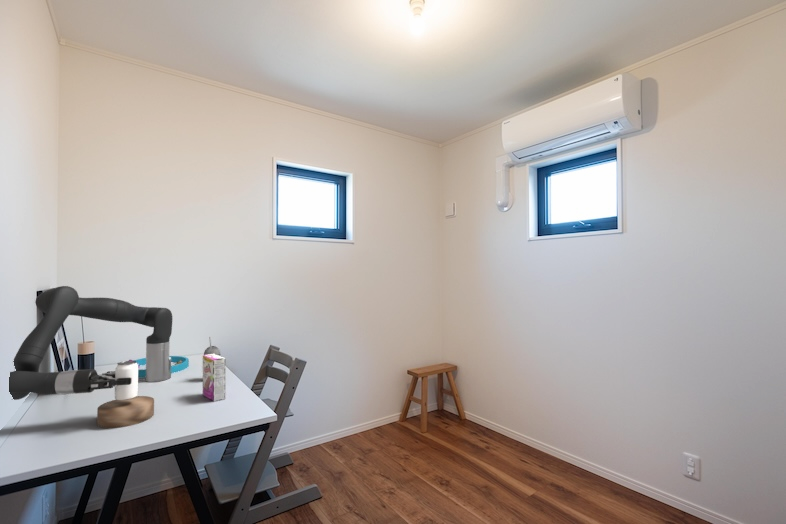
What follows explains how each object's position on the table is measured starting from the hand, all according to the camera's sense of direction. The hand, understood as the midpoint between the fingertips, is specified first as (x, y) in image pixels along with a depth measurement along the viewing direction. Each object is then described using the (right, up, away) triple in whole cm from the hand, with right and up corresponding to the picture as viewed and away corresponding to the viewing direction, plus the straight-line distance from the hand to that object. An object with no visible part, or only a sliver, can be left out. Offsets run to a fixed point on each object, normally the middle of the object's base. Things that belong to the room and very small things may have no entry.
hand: (134, 378), depth 133 cm
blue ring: (-32, -15, +64) cm, 73 cm away
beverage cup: (+6, -15, +45) cm, 48 cm away
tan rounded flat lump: (-2, -14, -1) cm, 14 cm away
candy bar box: (+18, -14, +21) cm, 31 cm away
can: (-2, -7, -1) cm, 7 cm away
